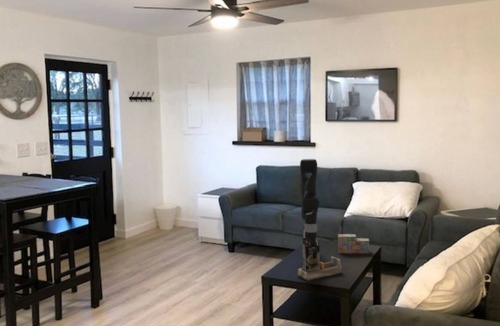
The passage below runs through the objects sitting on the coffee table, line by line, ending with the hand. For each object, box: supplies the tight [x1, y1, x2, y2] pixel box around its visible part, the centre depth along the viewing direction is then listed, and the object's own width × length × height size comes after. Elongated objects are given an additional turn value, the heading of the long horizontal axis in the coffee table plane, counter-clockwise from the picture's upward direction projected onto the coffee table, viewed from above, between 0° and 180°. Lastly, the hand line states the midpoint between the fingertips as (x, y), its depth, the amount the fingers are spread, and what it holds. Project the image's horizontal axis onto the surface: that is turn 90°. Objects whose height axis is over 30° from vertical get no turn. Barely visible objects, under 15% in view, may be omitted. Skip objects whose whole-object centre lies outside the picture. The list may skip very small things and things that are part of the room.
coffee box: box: [302, 243, 321, 272], centre depth 286 cm, size 9×6×16 cm
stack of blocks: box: [337, 233, 370, 255], centre depth 333 cm, size 21×6×12 cm, turn 82°
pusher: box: [317, 261, 325, 271], centre depth 291 cm, size 7×1×7 cm, turn 29°
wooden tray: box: [297, 256, 343, 282], centre depth 291 cm, size 10×26×8 cm, turn 119°
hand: (311, 256), depth 286 cm, fingers closed on coffee box, 7 cm apart
